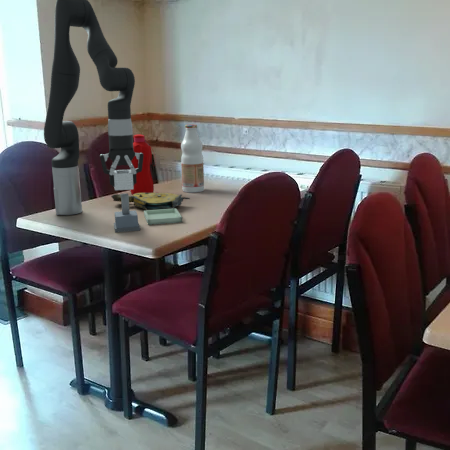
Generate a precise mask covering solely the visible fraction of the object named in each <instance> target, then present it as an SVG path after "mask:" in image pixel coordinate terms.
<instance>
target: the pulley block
mask: <svg viewBox="0 0 450 450" xmlns="http://www.w3.org/2000/svg"><path fill="white" fill-rule="evenodd" d="M121 194H122V193H120V194H118V193H116V194H112V195H111V198H112V199H113V200H112V201H113V202H120V203H121ZM182 195H183V194H176V193H170V192H153V193H135V194H133V195H129V194H128V196H129V204H130V203H133V206H134V207H137V208H140V209H142V210H144V211H146V210H160V209H174V208H176V207H178V206H181V205H182V202H183V201H184V200H190V199H191V198H190V197H184V196H182Z"/></svg>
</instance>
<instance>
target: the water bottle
mask: <svg viewBox="0 0 450 450" xmlns="http://www.w3.org/2000/svg"><path fill="white" fill-rule="evenodd" d="M133 149H134V152H135V153H143V155H144V157H143V165H142V171H141V172H138V173H137V174H136V179H137V183H136V184H135V186H133V188H134V189H131V190H130V194H131V196H133V194H135V193H154V191H155V190H154V189H155V187H154V181H153V177H152V172H151V163H152V162H153V161H152V158H153V157H152V155H154V159H155V161H156V160H157V159H156V155H155V152H154V150H153V148H152V146H150V144H149V143H148V142H147V140H146V139H145V135H144V134H140V133H139V134H138V133H137V134H133ZM152 152H153V153H152ZM131 162H132V164H133V166H134V168H135V169H136V168H138V159H137V157H136V156H134V158H133V159H132V161H131ZM156 164H157V163H155V165H154V166H156Z"/></svg>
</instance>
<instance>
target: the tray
mask: <svg viewBox="0 0 450 450" xmlns="http://www.w3.org/2000/svg"><path fill="white" fill-rule="evenodd" d="M143 216H144V218H145V221H146V224H147V223H148V224H147V226H153V225H152V224H154V225H163V224H165V223H167V224H179V222H180V223H183V217H182V215H181V214H180V212H179V210H178V209H177V208H176V207H174V209H173V208H172V209H160V210H143Z"/></svg>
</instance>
